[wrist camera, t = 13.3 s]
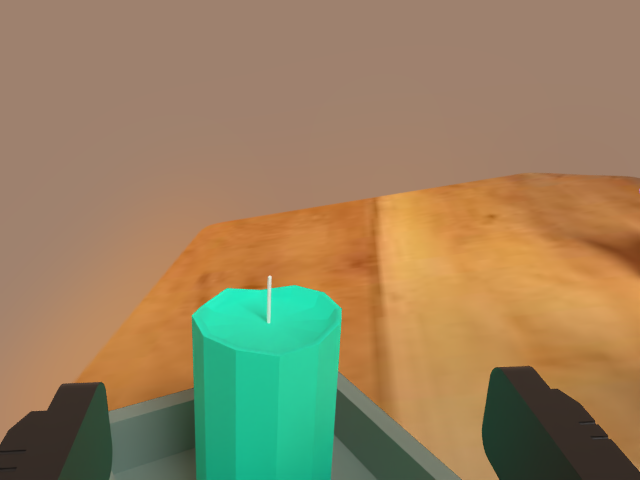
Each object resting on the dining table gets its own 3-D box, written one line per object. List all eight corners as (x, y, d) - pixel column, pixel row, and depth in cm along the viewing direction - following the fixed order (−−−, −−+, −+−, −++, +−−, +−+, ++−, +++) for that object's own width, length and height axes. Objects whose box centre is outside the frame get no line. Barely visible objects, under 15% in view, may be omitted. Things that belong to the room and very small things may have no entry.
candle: (344, 490, 28) (362, 263, 24) (304, 594, 23) (318, 323, 19) (234, 459, 30) (233, 242, 26) (171, 550, 24) (159, 292, 20)
